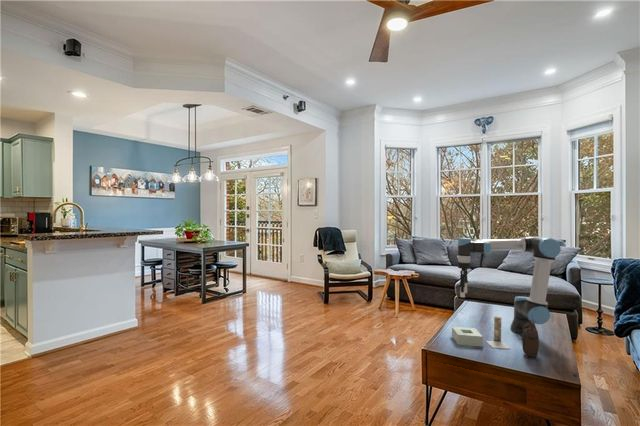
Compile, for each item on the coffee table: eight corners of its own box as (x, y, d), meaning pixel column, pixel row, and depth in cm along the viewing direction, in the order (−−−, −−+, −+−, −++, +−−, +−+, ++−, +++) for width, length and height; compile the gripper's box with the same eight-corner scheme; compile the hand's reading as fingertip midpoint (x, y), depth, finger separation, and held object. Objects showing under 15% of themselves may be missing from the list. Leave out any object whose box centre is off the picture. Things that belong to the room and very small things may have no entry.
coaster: (503, 342, 205) (503, 341, 205) (510, 349, 195) (510, 348, 195) (486, 341, 206) (486, 340, 206) (492, 347, 196) (492, 347, 196)
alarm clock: (520, 350, 194) (521, 315, 194) (535, 353, 190) (536, 317, 190) (522, 360, 181) (523, 323, 181) (538, 363, 177) (539, 325, 177)
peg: (499, 338, 211) (500, 316, 211) (502, 341, 207) (502, 318, 207) (492, 338, 211) (493, 316, 211) (495, 340, 207) (495, 318, 207)
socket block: (474, 337, 212) (475, 328, 212) (482, 346, 198) (482, 336, 198) (451, 336, 213) (451, 326, 213) (457, 344, 200) (458, 334, 200)
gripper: (460, 259, 229) (459, 290, 229) (455, 264, 207) (454, 298, 207) (472, 260, 225) (471, 291, 225) (468, 265, 204) (468, 300, 204)
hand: (463, 294), depth 216 cm, fingers open, 13 cm apart
